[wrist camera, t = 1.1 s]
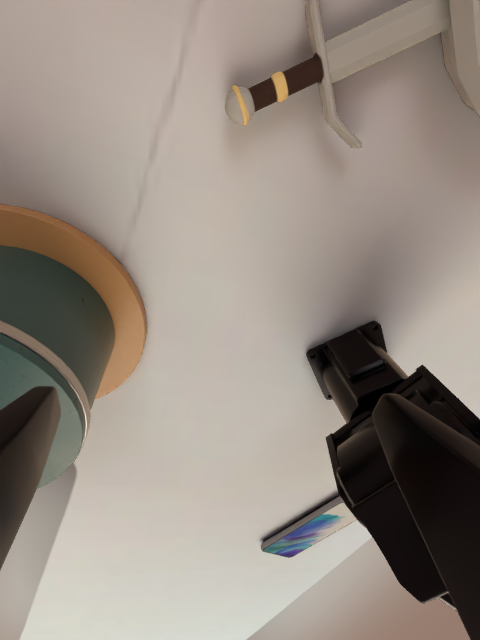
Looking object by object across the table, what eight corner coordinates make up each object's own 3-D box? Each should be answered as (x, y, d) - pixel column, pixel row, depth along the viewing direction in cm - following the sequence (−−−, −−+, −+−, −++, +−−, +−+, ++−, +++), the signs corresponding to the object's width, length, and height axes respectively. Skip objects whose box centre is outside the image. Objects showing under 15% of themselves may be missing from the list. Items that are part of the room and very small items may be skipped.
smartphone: (370, 512, 41) (290, 558, 45) (367, 506, 42) (288, 552, 46) (343, 499, 37) (259, 551, 42) (340, 492, 38) (257, 543, 42)
